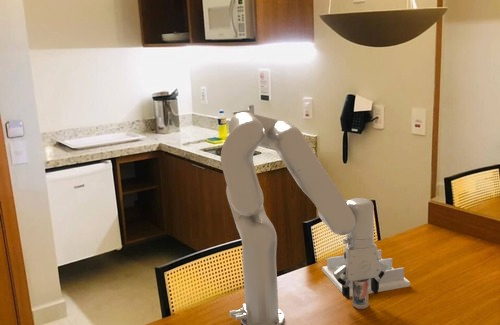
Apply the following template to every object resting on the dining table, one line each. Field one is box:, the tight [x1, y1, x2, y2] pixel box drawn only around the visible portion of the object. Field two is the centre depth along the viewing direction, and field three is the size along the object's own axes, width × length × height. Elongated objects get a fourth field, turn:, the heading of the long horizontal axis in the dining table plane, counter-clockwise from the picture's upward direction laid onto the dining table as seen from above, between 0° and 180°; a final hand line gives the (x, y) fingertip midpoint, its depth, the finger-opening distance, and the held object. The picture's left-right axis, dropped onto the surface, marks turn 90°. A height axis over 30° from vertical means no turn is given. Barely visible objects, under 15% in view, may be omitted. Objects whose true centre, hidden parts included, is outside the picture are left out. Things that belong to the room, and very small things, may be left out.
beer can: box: [352, 279, 370, 310], centre depth 155 cm, size 5×5×12 cm
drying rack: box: [321, 249, 411, 298], centre depth 173 cm, size 22×20×6 cm
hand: (360, 294), depth 155 cm, fingers open, 8 cm apart
